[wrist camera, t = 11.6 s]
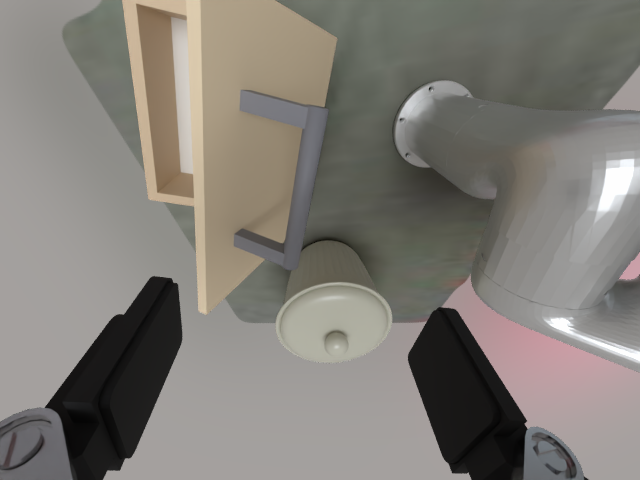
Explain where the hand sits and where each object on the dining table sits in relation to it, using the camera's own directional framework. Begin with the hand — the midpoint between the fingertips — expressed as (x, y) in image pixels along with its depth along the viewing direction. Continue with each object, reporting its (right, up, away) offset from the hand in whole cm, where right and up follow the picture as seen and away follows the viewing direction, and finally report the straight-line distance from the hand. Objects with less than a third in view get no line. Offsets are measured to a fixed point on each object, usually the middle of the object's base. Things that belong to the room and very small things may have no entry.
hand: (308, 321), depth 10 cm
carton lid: (-4, +11, +16) cm, 19 cm away
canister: (+2, -2, +47) cm, 47 cm away
